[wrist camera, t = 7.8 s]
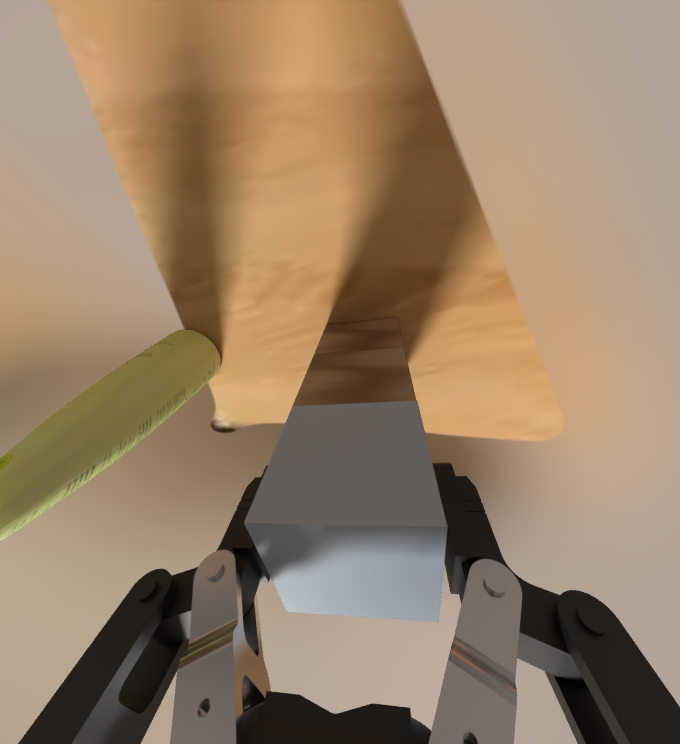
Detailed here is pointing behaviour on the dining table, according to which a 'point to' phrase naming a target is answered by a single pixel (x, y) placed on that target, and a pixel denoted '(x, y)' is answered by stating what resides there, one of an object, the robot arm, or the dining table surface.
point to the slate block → (353, 513)
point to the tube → (101, 425)
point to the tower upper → (357, 378)
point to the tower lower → (360, 336)
